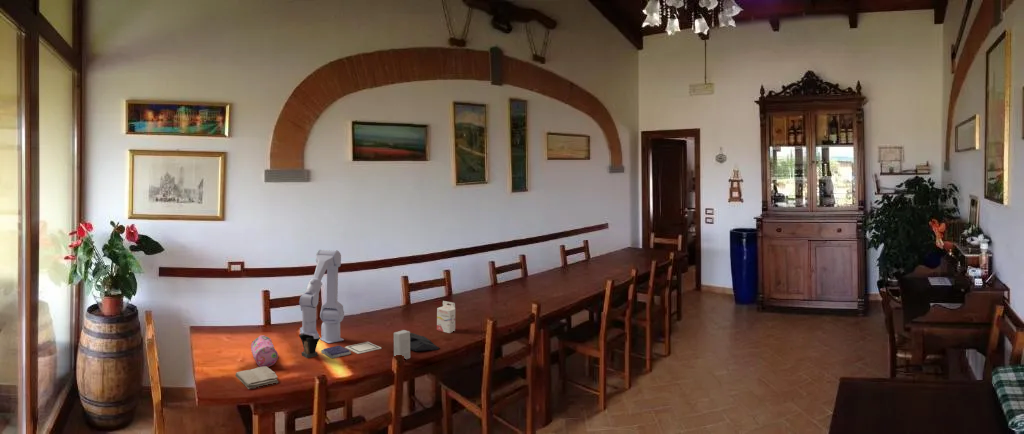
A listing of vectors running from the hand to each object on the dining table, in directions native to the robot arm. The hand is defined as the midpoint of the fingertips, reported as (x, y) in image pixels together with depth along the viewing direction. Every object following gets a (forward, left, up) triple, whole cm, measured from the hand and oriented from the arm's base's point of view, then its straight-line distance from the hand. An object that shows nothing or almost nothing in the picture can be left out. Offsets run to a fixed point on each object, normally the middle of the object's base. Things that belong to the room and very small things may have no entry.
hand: (309, 351), depth 262 cm
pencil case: (-6, -18, -2) cm, 19 cm away
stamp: (0, 0, -2) cm, 2 cm away
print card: (+6, +23, -2) cm, 24 cm away
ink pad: (+5, +10, -2) cm, 11 cm away
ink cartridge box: (+8, +69, -2) cm, 69 cm away
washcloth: (+14, -28, -3) cm, 31 cm away
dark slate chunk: (+18, +44, -3) cm, 48 cm away
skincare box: (+30, +28, -2) cm, 41 cm away
